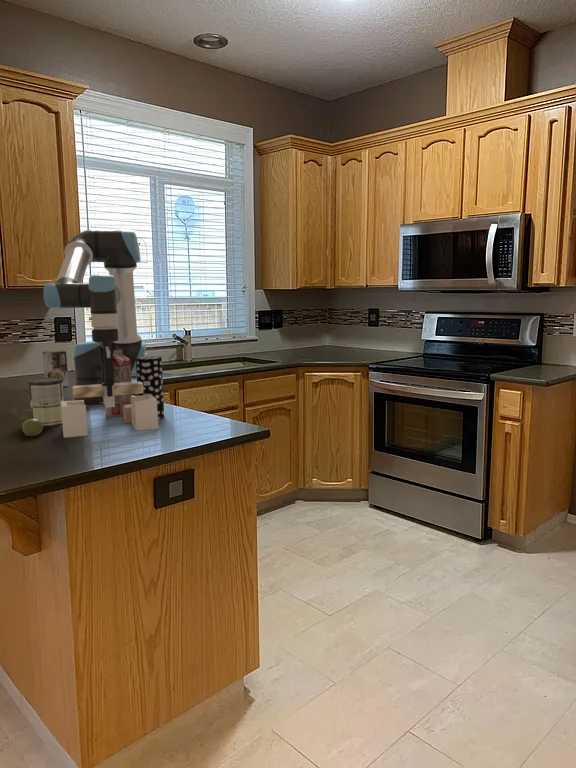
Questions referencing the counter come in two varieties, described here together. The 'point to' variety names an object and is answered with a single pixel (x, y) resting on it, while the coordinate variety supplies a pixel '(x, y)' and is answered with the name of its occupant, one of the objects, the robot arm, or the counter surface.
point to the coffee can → (46, 399)
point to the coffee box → (56, 365)
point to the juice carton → (120, 376)
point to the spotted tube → (151, 379)
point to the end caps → (140, 409)
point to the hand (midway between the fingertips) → (109, 405)
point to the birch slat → (98, 389)
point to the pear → (32, 427)
